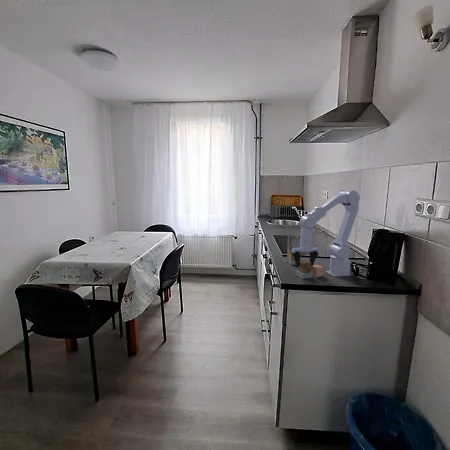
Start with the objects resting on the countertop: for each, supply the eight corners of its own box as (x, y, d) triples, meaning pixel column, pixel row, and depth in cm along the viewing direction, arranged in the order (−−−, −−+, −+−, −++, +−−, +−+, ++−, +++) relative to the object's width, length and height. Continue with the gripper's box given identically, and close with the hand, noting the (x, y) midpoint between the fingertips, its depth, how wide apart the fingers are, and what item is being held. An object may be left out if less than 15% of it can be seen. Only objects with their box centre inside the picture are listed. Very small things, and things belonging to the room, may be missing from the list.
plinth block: (305, 274, 141) (305, 269, 141) (312, 278, 135) (312, 272, 135) (295, 275, 139) (295, 270, 139) (302, 279, 134) (302, 273, 133)
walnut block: (305, 269, 140) (306, 260, 139) (310, 272, 135) (311, 262, 135) (297, 270, 139) (298, 260, 138) (302, 272, 134) (303, 263, 134)
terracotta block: (315, 273, 142) (316, 264, 141) (322, 276, 138) (323, 266, 137) (309, 274, 140) (310, 265, 139) (316, 277, 136) (316, 268, 135)
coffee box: (301, 265, 157) (303, 238, 154) (291, 265, 156) (292, 238, 154) (296, 260, 166) (297, 235, 163) (286, 260, 165) (287, 235, 163)
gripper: (314, 237, 140) (313, 263, 142) (289, 238, 137) (287, 264, 139) (322, 240, 133) (320, 267, 135) (295, 241, 130) (294, 268, 132)
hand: (304, 265), depth 137 cm, fingers open, 7 cm apart
